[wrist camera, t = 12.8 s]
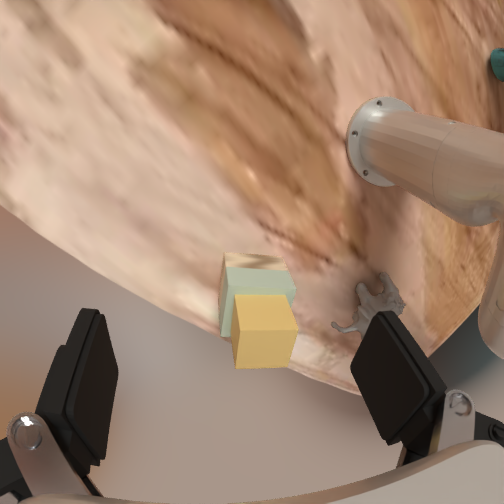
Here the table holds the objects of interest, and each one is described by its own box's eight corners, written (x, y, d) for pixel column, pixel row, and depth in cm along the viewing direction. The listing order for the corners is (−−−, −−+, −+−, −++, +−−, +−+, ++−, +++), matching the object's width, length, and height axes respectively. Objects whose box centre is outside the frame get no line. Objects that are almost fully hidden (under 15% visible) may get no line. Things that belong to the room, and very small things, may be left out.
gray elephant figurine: (396, 292, 49) (417, 319, 42) (342, 332, 51) (358, 362, 45) (378, 259, 45) (402, 287, 38) (318, 304, 47) (334, 337, 40)
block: (285, 294, 35) (298, 329, 30) (276, 332, 38) (287, 366, 33) (234, 294, 34) (240, 330, 29) (230, 332, 37) (235, 368, 32)
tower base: (281, 255, 42) (288, 270, 38) (270, 301, 46) (276, 318, 42) (223, 251, 40) (225, 267, 37) (218, 299, 44) (219, 316, 41)
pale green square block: (288, 271, 39) (296, 289, 35) (275, 318, 42) (281, 338, 39) (226, 266, 37) (228, 285, 33) (218, 316, 41) (220, 336, 37)
